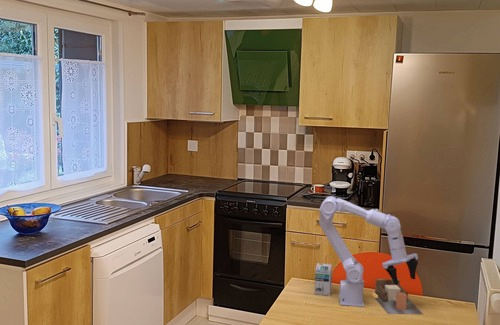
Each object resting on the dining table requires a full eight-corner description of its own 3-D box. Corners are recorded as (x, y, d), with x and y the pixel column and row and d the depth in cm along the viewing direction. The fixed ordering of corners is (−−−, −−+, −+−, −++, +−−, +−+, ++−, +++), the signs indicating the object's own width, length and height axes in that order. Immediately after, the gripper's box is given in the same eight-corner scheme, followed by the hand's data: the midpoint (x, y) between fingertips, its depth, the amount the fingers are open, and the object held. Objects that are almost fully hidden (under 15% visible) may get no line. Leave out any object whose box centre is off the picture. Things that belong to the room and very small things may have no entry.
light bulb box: (330, 296, 224) (331, 270, 223) (313, 294, 225) (315, 269, 224) (331, 288, 234) (332, 263, 233) (316, 286, 235) (317, 262, 234)
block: (395, 309, 210) (396, 294, 209) (384, 296, 225) (384, 282, 224) (408, 309, 210) (409, 294, 209) (395, 296, 225) (396, 282, 224)
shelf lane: (387, 314, 205) (388, 298, 204) (369, 292, 230) (370, 278, 229) (423, 314, 206) (424, 299, 205) (402, 293, 231) (402, 278, 230)
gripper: (386, 253, 205) (393, 288, 205) (419, 244, 208) (426, 278, 208) (377, 251, 211) (384, 285, 212) (409, 242, 215) (416, 275, 215)
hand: (404, 281), depth 211 cm, fingers open, 7 cm apart
